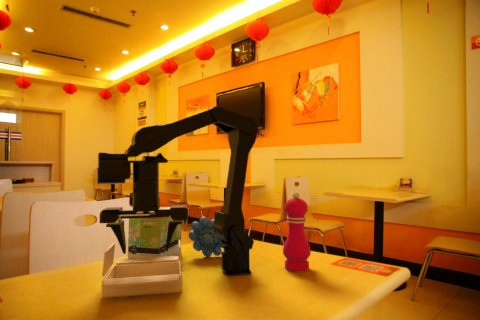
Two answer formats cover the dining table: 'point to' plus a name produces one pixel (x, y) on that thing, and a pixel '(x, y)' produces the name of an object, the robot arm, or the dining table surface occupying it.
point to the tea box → (152, 237)
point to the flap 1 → (108, 259)
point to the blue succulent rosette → (205, 237)
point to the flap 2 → (180, 255)
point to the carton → (143, 277)
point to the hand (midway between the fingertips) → (145, 252)
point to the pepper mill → (296, 236)
